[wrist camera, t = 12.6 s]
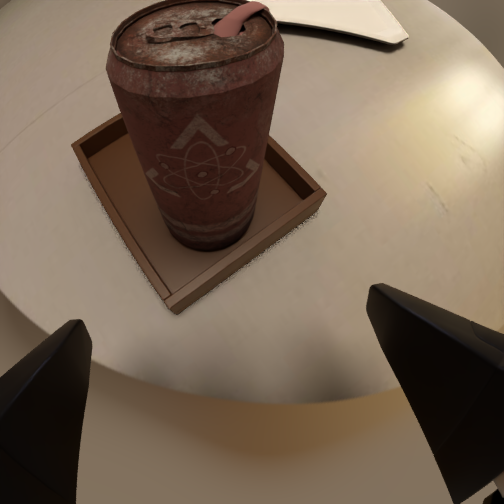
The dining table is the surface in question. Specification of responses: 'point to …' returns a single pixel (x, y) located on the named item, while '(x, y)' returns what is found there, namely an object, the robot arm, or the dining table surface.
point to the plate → (340, 17)
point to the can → (199, 109)
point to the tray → (157, 233)
